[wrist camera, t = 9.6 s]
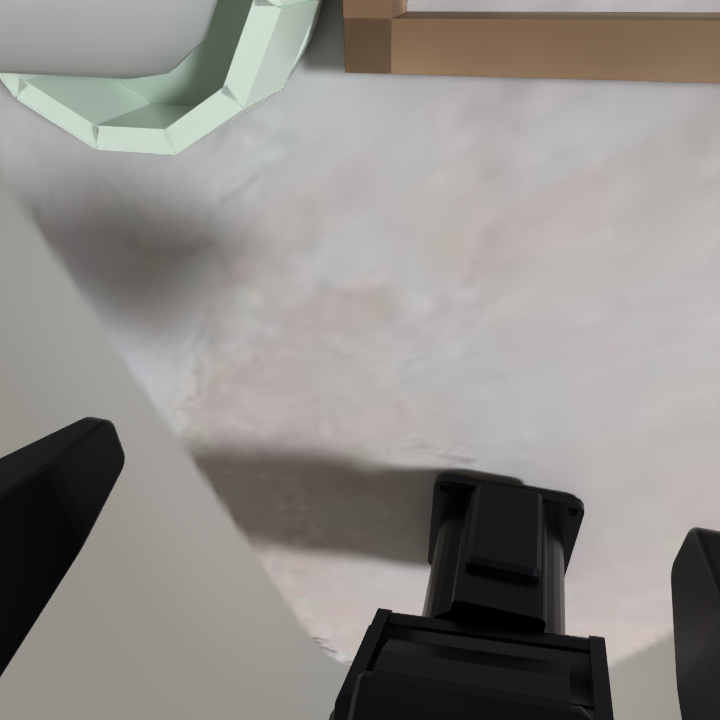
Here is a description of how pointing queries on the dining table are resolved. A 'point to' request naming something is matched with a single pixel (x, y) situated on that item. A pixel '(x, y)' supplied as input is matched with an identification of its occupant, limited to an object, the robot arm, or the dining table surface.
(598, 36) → the tray
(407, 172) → the dining table surface
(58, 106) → the bowl
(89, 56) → the salt shaker
